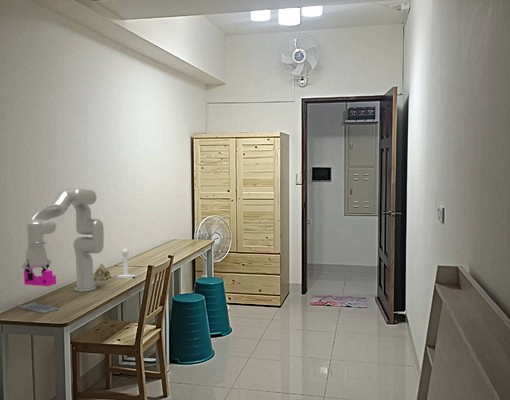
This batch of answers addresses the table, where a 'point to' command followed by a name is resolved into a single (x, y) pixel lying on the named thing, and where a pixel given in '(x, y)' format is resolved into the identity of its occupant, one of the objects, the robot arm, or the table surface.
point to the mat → (39, 308)
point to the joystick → (125, 265)
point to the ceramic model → (101, 273)
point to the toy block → (41, 279)
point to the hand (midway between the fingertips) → (37, 278)
